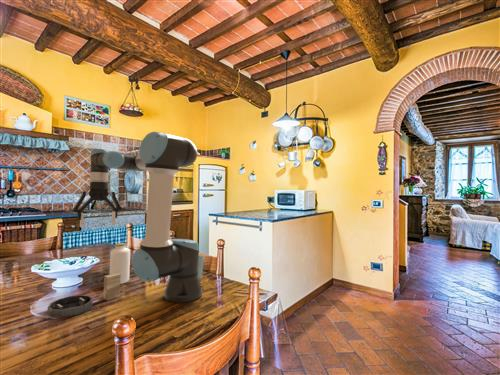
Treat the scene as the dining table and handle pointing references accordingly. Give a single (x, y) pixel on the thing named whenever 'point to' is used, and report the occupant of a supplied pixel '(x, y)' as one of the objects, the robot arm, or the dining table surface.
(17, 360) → the dining table surface
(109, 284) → the tan rectangular block
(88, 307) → the tin
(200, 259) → the cup
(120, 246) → the potion bottle
